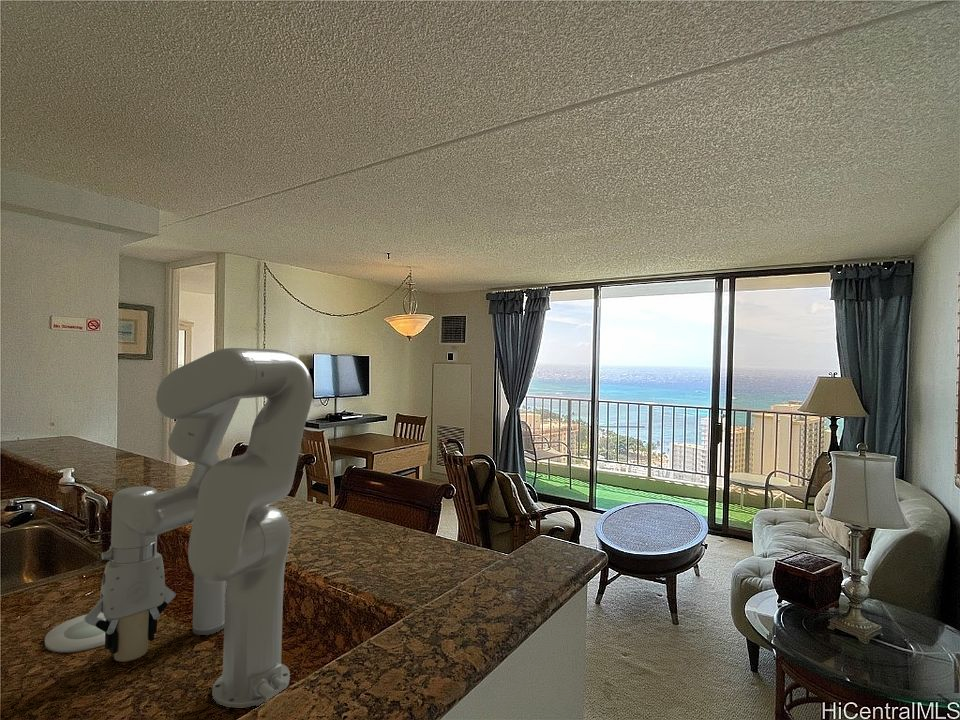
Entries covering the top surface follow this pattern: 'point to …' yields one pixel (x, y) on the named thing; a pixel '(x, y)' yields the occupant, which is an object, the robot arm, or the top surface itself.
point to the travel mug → (208, 607)
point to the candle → (132, 636)
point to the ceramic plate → (75, 636)
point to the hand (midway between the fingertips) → (131, 643)
